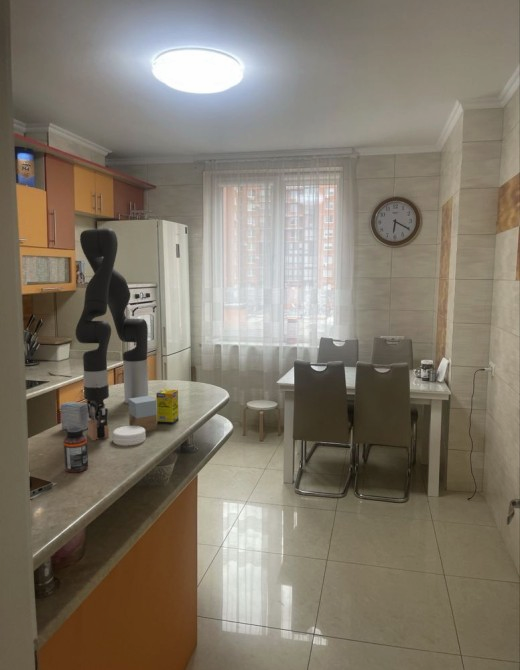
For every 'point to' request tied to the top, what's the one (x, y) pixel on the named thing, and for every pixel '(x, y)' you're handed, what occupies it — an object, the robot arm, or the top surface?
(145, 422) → the tower base block
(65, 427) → the medicine box
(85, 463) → the supplement bottle
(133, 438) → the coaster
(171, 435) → the top surface
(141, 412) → the tower top block
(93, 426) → the cube
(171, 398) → the supplement box
